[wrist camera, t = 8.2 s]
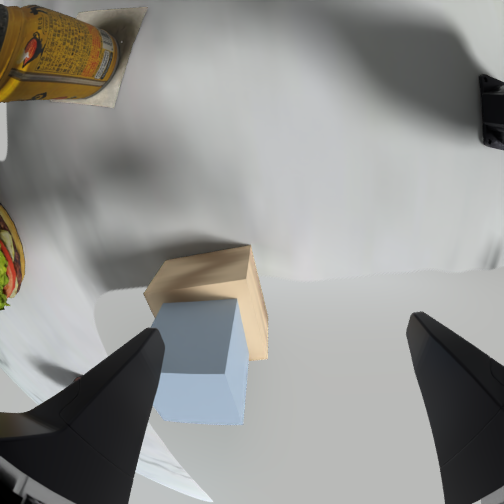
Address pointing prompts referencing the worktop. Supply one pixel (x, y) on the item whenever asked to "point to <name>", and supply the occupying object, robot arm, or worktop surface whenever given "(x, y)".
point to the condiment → (65, 54)
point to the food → (9, 259)
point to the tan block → (216, 289)
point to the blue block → (202, 362)
